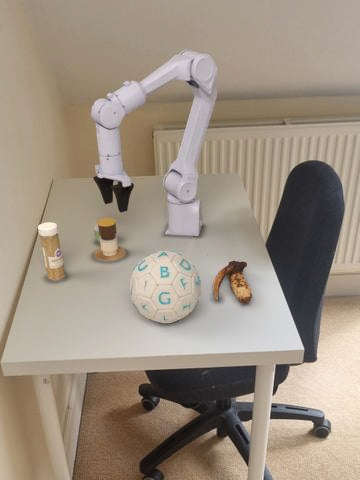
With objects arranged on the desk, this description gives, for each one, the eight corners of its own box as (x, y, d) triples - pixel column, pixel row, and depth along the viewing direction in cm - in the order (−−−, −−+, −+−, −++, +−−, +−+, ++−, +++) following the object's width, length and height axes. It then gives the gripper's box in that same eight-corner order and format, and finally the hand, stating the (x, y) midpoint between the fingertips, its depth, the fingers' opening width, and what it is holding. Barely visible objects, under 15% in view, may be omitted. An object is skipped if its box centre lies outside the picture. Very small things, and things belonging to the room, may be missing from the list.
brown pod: (119, 234, 154) (117, 218, 151) (114, 241, 150) (113, 225, 147) (102, 233, 154) (100, 217, 152) (97, 240, 151) (95, 224, 148)
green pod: (114, 238, 163) (112, 223, 161) (109, 245, 160) (108, 230, 157) (98, 238, 164) (96, 223, 161) (93, 245, 160) (91, 230, 158)
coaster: (129, 249, 158) (129, 247, 157) (121, 262, 151) (121, 260, 151) (99, 247, 159) (99, 245, 159) (90, 261, 153) (90, 259, 152)
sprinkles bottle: (60, 282, 144) (51, 229, 135) (44, 280, 145) (33, 228, 136) (68, 274, 147) (60, 222, 139) (52, 272, 148) (43, 220, 140)
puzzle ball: (199, 300, 135) (198, 237, 125) (202, 335, 123) (202, 269, 114) (133, 302, 135) (127, 240, 125) (130, 338, 123) (124, 272, 114)
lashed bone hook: (207, 276, 145) (218, 311, 130) (206, 258, 142) (217, 292, 128) (244, 272, 145) (259, 307, 131) (244, 254, 142) (259, 288, 128)
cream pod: (120, 249, 156) (119, 234, 154) (116, 257, 153) (114, 241, 150) (103, 248, 157) (102, 233, 154) (99, 256, 153) (97, 240, 151)
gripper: (82, 150, 148) (89, 203, 157) (111, 163, 139) (116, 219, 147) (106, 144, 151) (112, 197, 160) (136, 157, 142) (140, 212, 150)
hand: (115, 207), depth 154 cm, fingers open, 7 cm apart
